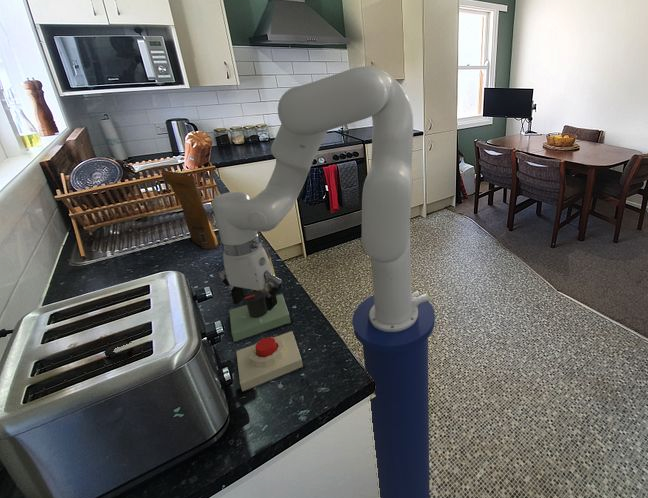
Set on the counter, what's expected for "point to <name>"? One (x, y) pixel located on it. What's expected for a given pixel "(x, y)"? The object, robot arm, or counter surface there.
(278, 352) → the button housing
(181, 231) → the counter surface
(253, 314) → the dial
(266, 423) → the counter surface
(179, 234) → the counter surface
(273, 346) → the button
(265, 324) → the dial panel
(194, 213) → the pancake mix bag
